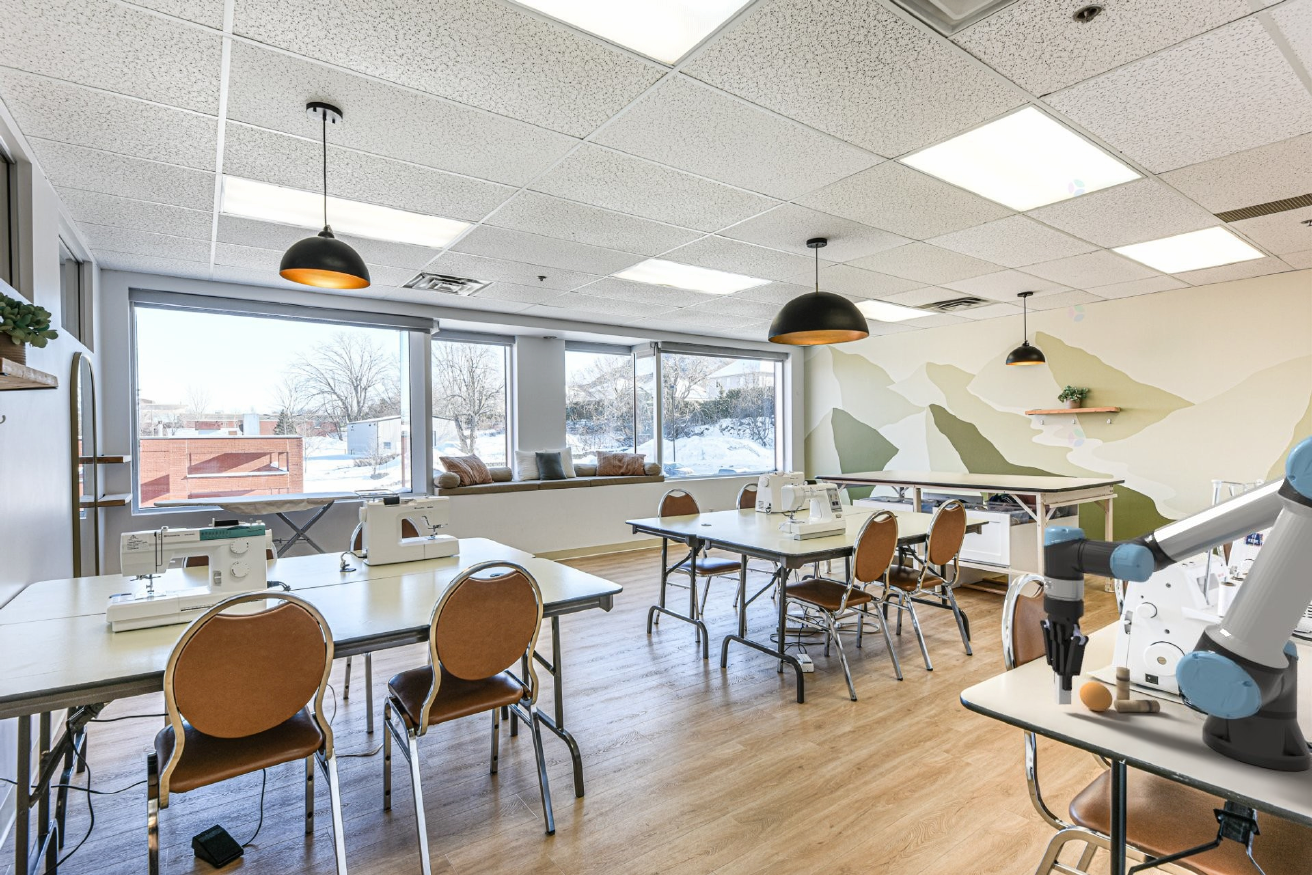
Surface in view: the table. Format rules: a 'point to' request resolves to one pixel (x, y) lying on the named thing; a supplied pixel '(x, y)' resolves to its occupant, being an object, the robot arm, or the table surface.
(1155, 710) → the pin
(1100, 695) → the orange egg
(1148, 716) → the table surface
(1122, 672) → the pin
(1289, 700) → the robot arm
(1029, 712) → the table surface
